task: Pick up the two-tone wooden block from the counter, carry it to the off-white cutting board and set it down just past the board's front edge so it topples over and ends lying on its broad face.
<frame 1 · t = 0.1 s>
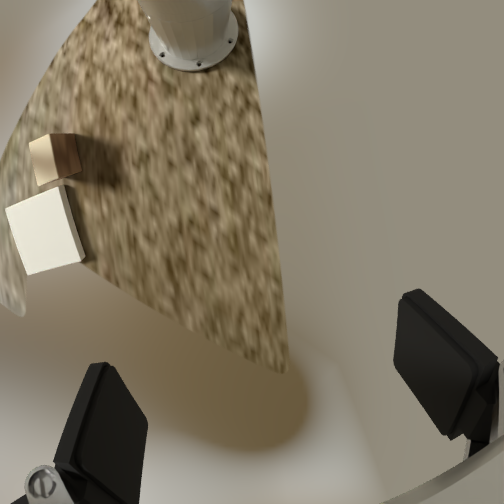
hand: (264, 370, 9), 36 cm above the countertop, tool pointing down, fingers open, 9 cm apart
two-tone wooden block: (68, 155, 38), on the countertop
cutting board: (45, 230, 41), on the countertop
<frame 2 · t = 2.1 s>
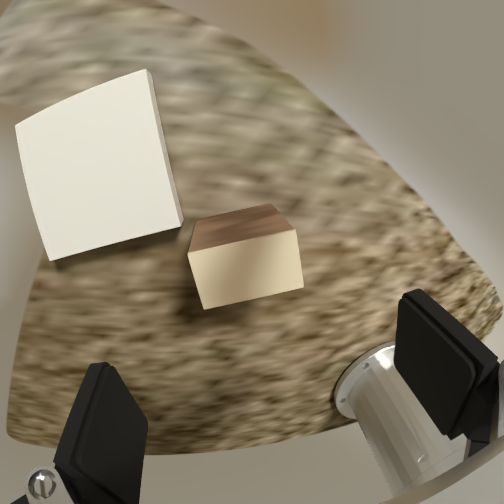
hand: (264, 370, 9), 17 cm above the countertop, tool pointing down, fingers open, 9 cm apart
two-tone wooden block: (238, 232, 25), on the countertop
cutting board: (96, 167, 21), on the countertop
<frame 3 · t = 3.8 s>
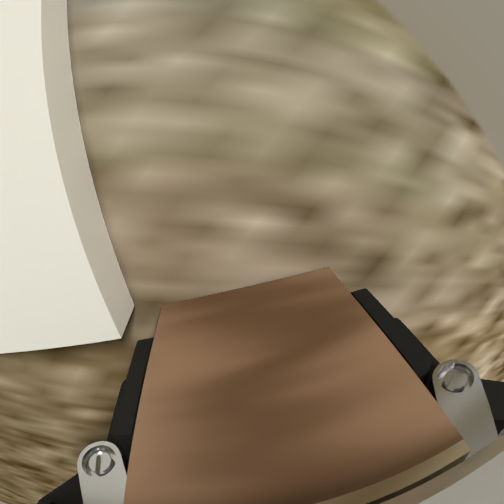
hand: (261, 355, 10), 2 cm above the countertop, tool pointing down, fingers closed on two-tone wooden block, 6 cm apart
two-tone wooden block: (254, 327, 11), on the countertop, touching gripper
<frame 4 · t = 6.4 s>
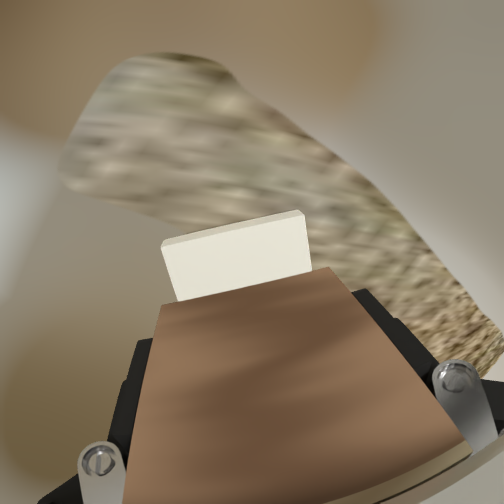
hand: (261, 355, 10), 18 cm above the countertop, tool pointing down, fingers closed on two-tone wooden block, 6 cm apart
two-tone wooden block: (254, 327, 11), point 16 cm above the countertop, touching gripper
cutting board: (244, 285, 28), on the countertop
when the fingers open (4 cm above the countertop, at t = 9.3 s): two-tone wooden block drops 1 cm and tips over, point 2 cm above the countertop.
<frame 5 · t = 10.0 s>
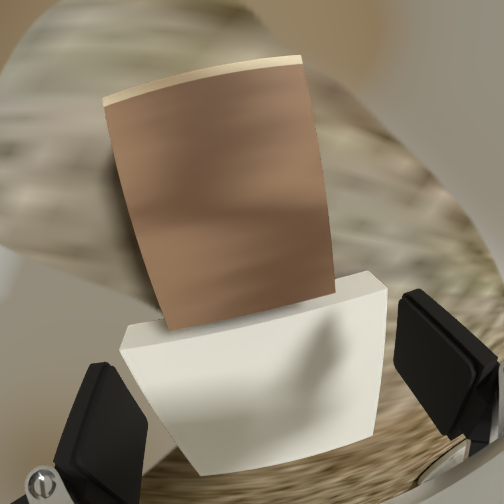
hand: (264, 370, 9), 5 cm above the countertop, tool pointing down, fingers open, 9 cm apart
two-tone wooden block: (247, 290, 12), point 2 cm above the countertop, tilted 90°
cutting board: (269, 387, 16), on the countertop
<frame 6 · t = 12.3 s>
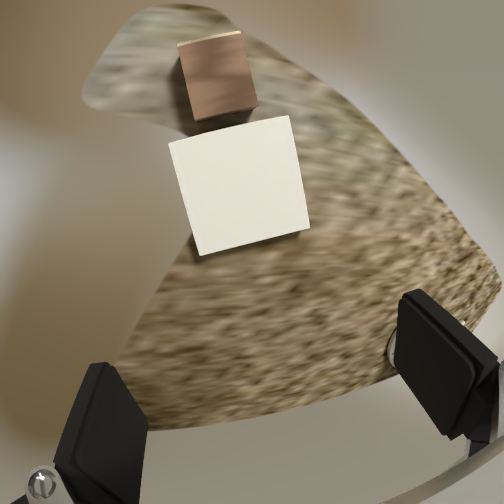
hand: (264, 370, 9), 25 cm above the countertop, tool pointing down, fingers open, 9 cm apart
two-tone wooden block: (225, 113, 27), point 2 cm above the countertop, tilted 90°
cutting board: (240, 183, 32), on the countertop
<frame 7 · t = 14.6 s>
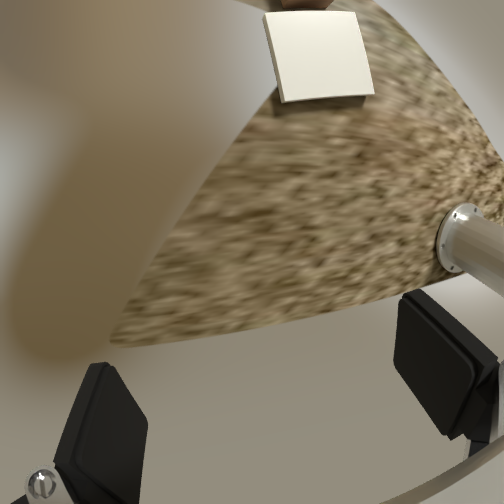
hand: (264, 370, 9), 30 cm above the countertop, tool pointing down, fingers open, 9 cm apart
two-tone wooden block: (308, 3, 28), point 2 cm above the countertop, tilted 90°
cutting board: (317, 55, 32), on the countertop
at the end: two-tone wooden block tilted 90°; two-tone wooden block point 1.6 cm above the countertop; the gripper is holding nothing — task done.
